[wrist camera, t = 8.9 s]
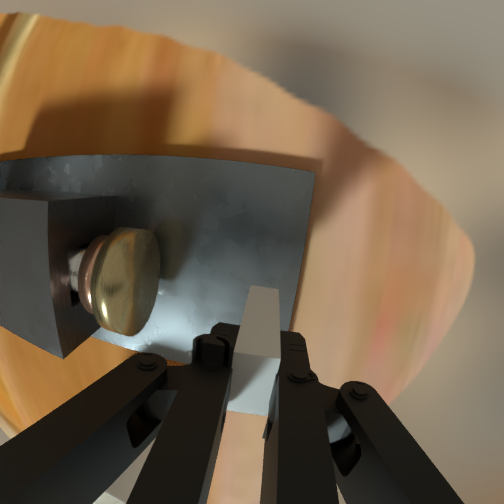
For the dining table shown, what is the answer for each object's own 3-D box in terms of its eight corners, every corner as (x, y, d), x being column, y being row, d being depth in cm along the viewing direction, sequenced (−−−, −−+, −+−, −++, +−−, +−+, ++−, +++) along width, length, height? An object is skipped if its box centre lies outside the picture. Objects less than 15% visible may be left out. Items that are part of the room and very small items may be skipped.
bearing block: (313, 173, 18) (342, 159, 10) (277, 372, 22) (275, 449, 14) (-2, 162, 20) (-56, 164, 12) (2, 292, 24) (-44, 315, 15)
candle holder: (99, 386, 25) (42, 456, 13) (181, 412, 24) (142, 505, 12) (114, 438, 27) (76, 501, 15) (185, 460, 26) (159, 535, 14)
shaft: (163, 223, 18) (111, 240, 12) (159, 311, 20) (117, 356, 13) (-3, 204, 20) (-48, 212, 13) (-1, 263, 21) (-42, 279, 15)
